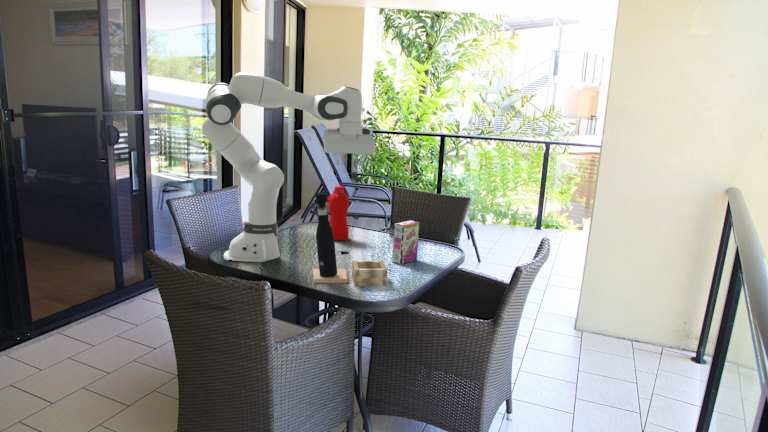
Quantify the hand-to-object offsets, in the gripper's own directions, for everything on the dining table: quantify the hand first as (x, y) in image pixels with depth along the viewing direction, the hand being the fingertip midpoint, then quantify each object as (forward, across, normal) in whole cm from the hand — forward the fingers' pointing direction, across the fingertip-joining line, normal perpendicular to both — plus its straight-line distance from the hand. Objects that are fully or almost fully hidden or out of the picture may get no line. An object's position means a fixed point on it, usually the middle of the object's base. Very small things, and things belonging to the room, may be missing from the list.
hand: (349, 164), depth 228 cm
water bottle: (+39, -2, +35) cm, 53 cm away
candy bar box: (+39, +24, -2) cm, 46 cm away
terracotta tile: (+39, -8, -23) cm, 46 cm away
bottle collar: (+39, +6, -27) cm, 48 cm away
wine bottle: (+37, -9, -24) cm, 45 cm away
